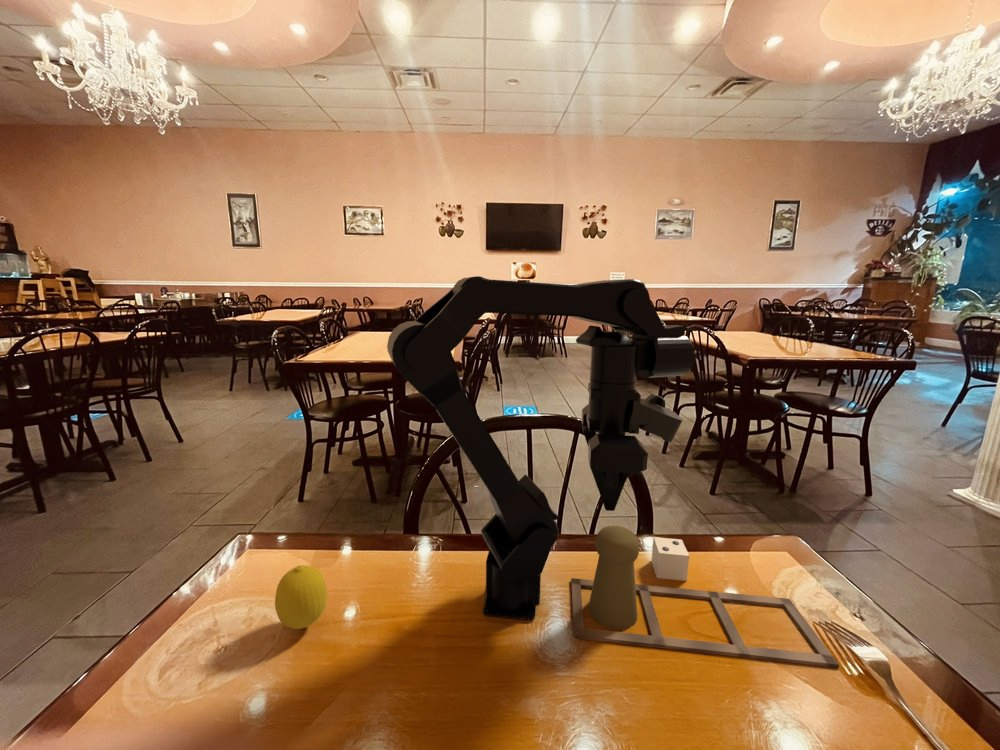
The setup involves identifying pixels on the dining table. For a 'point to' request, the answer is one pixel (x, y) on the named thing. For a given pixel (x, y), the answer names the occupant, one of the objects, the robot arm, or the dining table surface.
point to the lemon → (300, 597)
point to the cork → (615, 578)
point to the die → (670, 559)
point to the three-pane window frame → (732, 649)
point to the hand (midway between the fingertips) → (605, 493)
